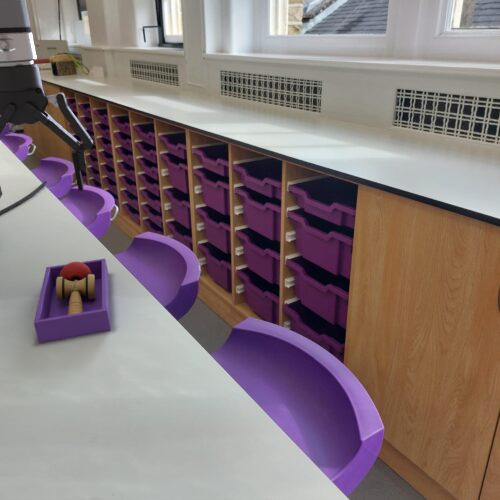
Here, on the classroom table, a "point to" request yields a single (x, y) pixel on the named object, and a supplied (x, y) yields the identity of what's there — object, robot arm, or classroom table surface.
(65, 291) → the kendama
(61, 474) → the classroom table surface
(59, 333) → the tote
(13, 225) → the classroom table surface
